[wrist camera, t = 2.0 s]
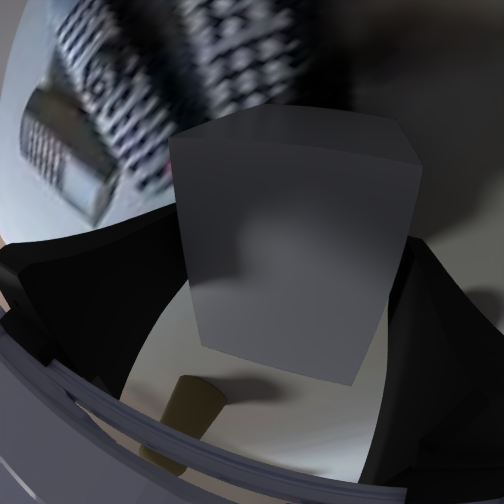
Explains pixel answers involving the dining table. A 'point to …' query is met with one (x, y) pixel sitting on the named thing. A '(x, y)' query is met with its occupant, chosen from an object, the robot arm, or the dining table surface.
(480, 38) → the dining table surface
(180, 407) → the cork
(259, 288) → the dark gray square block
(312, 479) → the robot arm
